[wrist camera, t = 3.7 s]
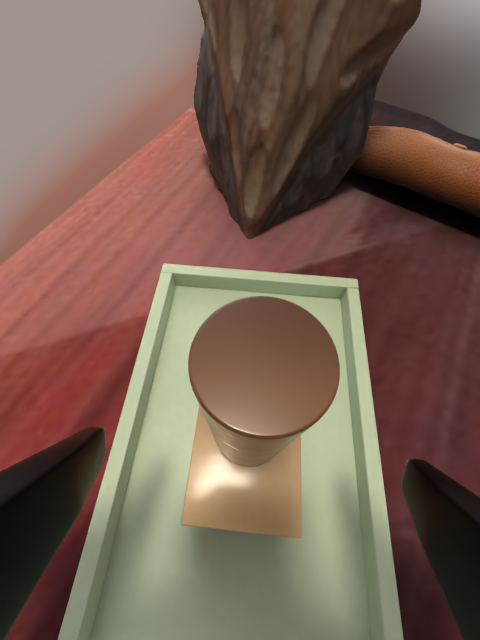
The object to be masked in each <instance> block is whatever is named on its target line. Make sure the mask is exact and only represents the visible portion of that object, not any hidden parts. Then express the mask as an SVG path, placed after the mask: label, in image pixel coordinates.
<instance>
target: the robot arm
mask: <svg viewBox="0 0 480 640" xmlns="http://www.w3.org/2000/svg"><path fill="white" fill-rule="evenodd" d="M106 451H107V449H106V433H105V429H104V428H102V427H94V426H91V427H88V428H86V429H84V430H82V431H80V432H78V433H76V434H74V435H72V436H70V437H68V438H66V439H64V440H62V441H60V442H58V443H56V444H54V445H52V446H50V447H48V448H46V449H44V450H43V451H41V452H39V453H37V454H35V455H33V456H31V457H29V458H27V459H25V460H23V461H21V462H19V463H17V464H15V465H13V466H11V467H9V468H7V469H5V470H3V471H1V472H0V640H5V638H6V636H7V635H8V633H9V631H10V630H11V628H12V626H13V624H14V623H15V621H16V619H17V618H18V616H19V614H20V613H21V611H22V609H23V607H24V606H25V604H26V602H27V601H28V599H29V597H30V596H31V594H32V592H33V590H34V589H35V587H36V585H37V584H38V582H39V580H40V579H41V577H42V575H43V573H44V572H45V570H46V568H47V567H48V565H49V563H50V562H51V560H52V558H53V556H54V555H55V553H56V551H57V550H58V548H59V546H60V545H61V543H62V541H63V539H64V538H65V536H66V534H67V533H68V531H69V529H70V528H71V526H72V524H73V522H74V521H75V519H76V517H77V515H78V514H79V512H80V510H81V508H82V506H83V504H84V502H85V500H86V498H87V496H88V494H89V491H90V489H91V487H92V485H93V483H94V481H95V479H96V476H97V474H98V472H99V470H100V468H101V466H102V464H103V461H104V459H105V456H106ZM401 486H402V491H403V494H404V497H405V500H406V503H407V505H408V508H409V511H410V514H411V517H412V520H413V523H414V526H415V528H416V531H417V534H418V537H419V540H420V542H421V545H422V548H423V550H424V552H425V555H426V557H427V559H428V562H429V564H430V566H431V568H432V570H433V573H434V575H435V577H436V579H437V582H438V584H439V586H440V588H441V590H442V593H443V595H444V597H445V599H446V602H447V604H448V606H449V608H450V610H451V613H452V615H453V617H454V619H455V622H456V624H457V626H458V628H459V630H460V633H461V635H462V637H463V639H464V640H480V498H479V497H478V496H476V495H475V494H473V493H472V492H471V491H469V490H468V489H466V488H465V487H463V486H462V485H460V484H459V483H457V482H456V481H454V480H453V479H451V478H450V477H448V476H447V475H446V474H444V473H443V472H441V471H440V470H438V469H437V468H435V467H434V466H432V465H431V464H429V463H428V462H426V461H425V460H420V459H409V460H408V461H407V463H406V467H405V470H404V474H403V477H402V482H401Z"/></svg>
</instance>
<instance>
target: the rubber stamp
mask: <svg viewBox="0 0 480 640" xmlns="http://www.w3.org/2000/svg"><path fill="white" fill-rule="evenodd" d="M188 372H189V378H190V383H191V386H192V389H193V392H194V394H195V396H196V399H197V401H198V403H199V411H198V417H197V423H196V430H195V436H194V442H193V449H192V455H191V462H190V468H189V474H188V481H187V487H186V493H185V500H184V506H183V512H182V519H181V525H183V526H192V527H201V528H210V529H220V530H229V531H238V532H247V533H256V534H265V535H274V536H283V537H292V538H302V510H301V434H302V433H304V432H305V431H306V430H307V429H309V428H310V427H311V426H313V425H314V424H315V423H316V422H317V421H319V420H320V419H321V417H322V416H323V415H324V414H325V413H326V412H327V410H328V409H329V407H330V406H331V404H332V402H333V400H334V398H335V396H336V393H337V389H338V386H339V379H340V364H339V357H338V354H337V350H336V347H335V344H334V342H333V340H332V338H331V336H330V334H329V333H328V331H327V330H326V328H325V327H324V326H323V324H322V323H321V322H320V321H319V320H318V319H317V318H316V317H315V316H314V315H312V314H311V313H310V312H309V311H307V310H305V309H304V308H302V307H301V306H299V305H297V304H295V303H293V302H290V301H287V300H284V299H280V298H276V297H269V296H253V297H246V298H241V299H238V300H235V301H232V302H230V303H228V304H226V305H224V306H222V307H221V308H219V309H217V310H216V311H215V312H214V313H212V314H211V315H210V316H209V317H208V318H207V319H206V320H205V321H204V323H203V324H202V325H201V326H200V328H199V329H198V331H197V333H196V335H195V337H194V339H193V341H192V344H191V348H190V352H189V359H188Z"/></svg>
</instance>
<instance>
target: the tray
mask: <svg viewBox="0 0 480 640" xmlns="http://www.w3.org/2000/svg"><path fill="white" fill-rule="evenodd" d="M253 296H269V297H276V298H280V299H284V300H287V301H290V302H293V303H295V304H297V305H299V306H301V307H302V308H304V309H305V310H307V311H309V312H310V313H311V314H312V315H314V316H315V317H316V318H317V319H318V320H319V321H320V322H321V323H322V324H323V326H324V327H325V328H326V330H327V331H328V333H329V334H330V336H331V338H332V340H333V342H334V344H335V347H336V350H337V354H338V357H339V364H340V379H339V386H338V389H337V393H336V396H335V398H334V400H333V402H332V404H331V406H330V407H329V409H328V410H327V412H326V413H325V414H324V415H323V416H322V417H321V419H320V420H319V421H317V422H316V423H315V424H314V425H313V426H311V427H310V428H309V429H307V430H306V431H305V432H304V433H302V434H301V510H302V538H292V537H283V536H274V535H265V534H256V533H247V532H238V531H229V530H220V529H210V528H201V527H192V526H183V525H181V519H182V512H183V506H184V500H185V493H186V487H187V481H188V474H189V468H190V462H191V455H192V449H193V442H194V436H195V430H196V423H197V417H198V411H199V403H198V401H197V399H196V396H195V394H194V392H193V389H192V386H191V383H190V378H189V372H188V359H189V352H190V348H191V344H192V341H193V339H194V337H195V335H196V333H197V331H198V329H199V328H200V326H201V325H202V324H203V323H204V321H205V320H206V319H207V318H208V317H209V316H210V315H211V314H212V313H214V312H215V311H216V310H217V309H219V308H221V307H222V306H224V305H226V304H228V303H230V302H232V301H235V300H238V299H241V298H246V297H253ZM58 640H404V639H403V632H402V624H401V616H400V608H399V600H398V593H397V585H396V577H395V569H394V561H393V554H392V546H391V538H390V530H389V523H388V515H387V507H386V499H385V491H384V484H383V476H382V468H381V460H380V452H379V445H378V437H377V429H376V421H375V414H374V406H373V398H372V390H371V382H370V375H369V367H368V359H367V351H366V343H365V336H364V328H363V320H362V312H361V305H360V297H359V289H358V280H357V279H351V278H338V277H326V276H313V275H301V274H288V273H276V272H263V271H251V270H238V269H226V268H213V267H201V266H188V265H176V264H163V267H162V271H161V274H160V278H159V281H158V285H157V288H156V292H155V295H154V299H153V302H152V306H151V310H150V313H149V317H148V320H147V324H146V327H145V331H144V334H143V338H142V342H141V345H140V349H139V352H138V356H137V359H136V363H135V366H134V370H133V374H132V377H131V381H130V384H129V388H128V391H127V395H126V398H125V402H124V406H123V409H122V413H121V416H120V420H119V423H118V427H117V430H116V434H115V438H114V441H113V445H112V448H111V452H110V455H109V459H108V462H107V466H106V470H105V473H104V477H103V480H102V484H101V487H100V491H99V494H98V498H97V502H96V505H95V509H94V512H93V516H92V519H91V523H90V526H89V530H88V534H87V537H86V541H85V544H84V548H83V551H82V555H81V558H80V562H79V566H78V569H77V573H76V576H75V580H74V583H73V587H72V590H71V594H70V598H69V601H68V605H67V608H66V612H65V615H64V619H63V622H62V626H61V630H60V633H59V637H58Z"/></svg>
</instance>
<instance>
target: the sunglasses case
mask: <svg viewBox="0 0 480 640" xmlns="http://www.w3.org/2000/svg"><path fill="white" fill-rule="evenodd" d="M349 170H351V171H353V172H356V173H359V174H363V175H367V176H369V177H372V178H375V179H382V180H384V181H386V182H388V183H392V184H396V185H400V186H404V187H407V188H408V189H410V190H412V191H414V192H417V193H420V194H422V195H424V196H426V197H429V198H431V199H433V200H436V201H439V202H442V203H445V204H448V205H451V206H454V207H457V208H458V209H460V210H462V211H464V212H466V213H468V214H471V215H473V216H476V217H479V218H480V152H475V151H471V150H467V147H466V146H463V145H461V144H458V143H455V144H453V145H451V144H450V143H447V142H445V141H443V140H440V139H439V138H436V137H433V136H431V135H429V134H426V133H424V132H421V131H418V130H414V129H408V128H402V127H390V126H374V127H369V129H368V132H367V137H366V141H365V146H364V149H363V151H362V152H361V154H360V156H359V158H358V159H357V160H356V161H355V162H354V164H353V165H352V166H351V168H350V169H349Z"/></svg>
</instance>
